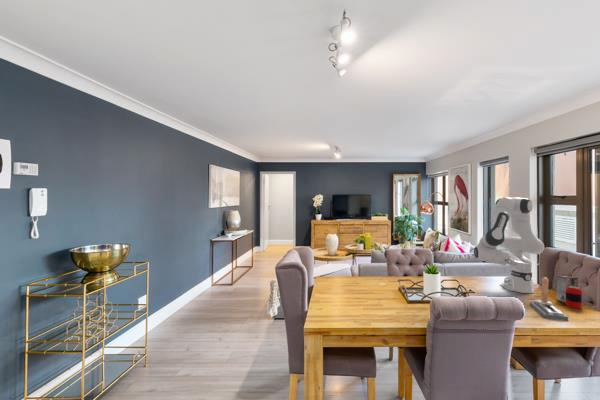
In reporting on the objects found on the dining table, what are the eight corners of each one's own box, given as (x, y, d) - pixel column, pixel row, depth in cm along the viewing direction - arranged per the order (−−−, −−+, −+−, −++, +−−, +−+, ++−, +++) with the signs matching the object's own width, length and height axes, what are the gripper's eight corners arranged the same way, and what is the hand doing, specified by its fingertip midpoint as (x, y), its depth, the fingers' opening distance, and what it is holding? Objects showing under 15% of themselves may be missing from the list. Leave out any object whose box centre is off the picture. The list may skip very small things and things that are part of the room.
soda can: (564, 306, 196) (565, 287, 196) (566, 303, 201) (566, 284, 201) (580, 309, 191) (581, 290, 191) (581, 306, 196) (582, 287, 196)
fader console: (529, 304, 197) (530, 299, 197) (550, 307, 194) (551, 301, 194) (544, 317, 177) (544, 311, 177) (568, 320, 173) (568, 314, 173)
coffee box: (567, 298, 210) (568, 275, 210) (577, 302, 204) (578, 277, 204) (556, 299, 209) (557, 275, 208) (566, 302, 202) (566, 278, 202)
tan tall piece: (536, 303, 193) (537, 276, 193) (548, 305, 191) (549, 277, 191) (539, 306, 189) (540, 278, 188) (552, 307, 186) (553, 279, 186)
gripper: (510, 258, 187) (536, 263, 183) (498, 248, 206) (521, 253, 203) (507, 268, 188) (533, 273, 184) (495, 257, 207) (518, 262, 204)
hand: (527, 263), depth 194 cm, fingers open, 8 cm apart
